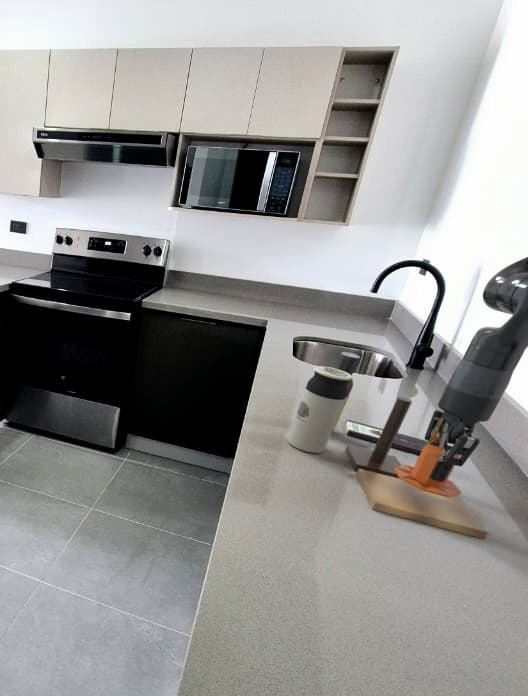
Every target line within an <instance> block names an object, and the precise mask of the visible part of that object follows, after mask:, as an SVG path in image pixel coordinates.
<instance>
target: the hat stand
mask: <svg viewBox="0 0 528 696" xmlns="http://www.w3.org/2000/svg"><path fill="white" fill-rule="evenodd" d="M412 403H413V400H411V399H410V398H408V397H407V398H406V397H404V396H397V398H396V400H395V403H394V404H393V406H392V408H391V411H390V413H389V415H388V418H387V420H386V422H385V424H384V426H383V428H382V429H383V431H382V433H381V435H380V437H379V439H378V442H377V443H375V447H374V449H373V450H369V449H365V448H361V447H357V446H352V445H349V444H347V445H346V447H345V449H344V451H345V454H346V457H347V458H348V460H349V462H351V463H350V465H351V467H352V468H353V471H356V470H357V471H358V469H363V470H367V471H371V472H375V473H379V474H382V475H386V476H390V477H394V478H398V479H400V478H399V477H398V475H397V473H396V472H395V470H394V467H399V466H402V464H401V463H400V461H399V460H398V458H397V456H394V455H390V454H389V452H390V450H391V448H392V447H391V446H392V443H393V441H394V439H395V437H396V435H397V433H399V431H400V430H401V429H400V428H401V426H402V424H403V422H404V421H405V418H406V416H407V414H408V412H409V410H410V408H411V405H412ZM357 471H356V472H357Z"/></svg>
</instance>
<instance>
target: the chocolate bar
mask: <svg viewBox="0 0 528 696" xmlns="http://www.w3.org/2000/svg"><path fill="white" fill-rule="evenodd" d="M345 428H346V433H347V434H346V435H347V436H350V437H353V438H358V439H361V440H365V441H369V442H372V443H375V444H377V442H378V439H379V437H380V435H381V433H382V431H383V429H384V428H380V427H376V426H374V425H369V424H366V423H361V422H358V421H354V420H351V419H346V421H345ZM427 441H428V440H425V439H421V438H418V437H414V436H410V435H407V434H403V433H399V432H398V433H397V435H396V437H395V439H394V441H393V443H392V446H391V448H393V449H397V450H401V451H405V452H408V453H411V454H416V455H418V456H420V454H421V452H422V450H423V448H424V447H425V445H426V443H427Z"/></svg>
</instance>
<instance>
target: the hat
mask: <svg viewBox="0 0 528 696" xmlns="http://www.w3.org/2000/svg"><path fill="white" fill-rule="evenodd" d="M449 451H450V450H448V452H449ZM448 452H447V454H448ZM440 453H441V448H440V447H439V446H437V445H431V444H427V445H425V447H424V448H423V450H422V452H421V454H420V455H418V457H417V460H416V462H415V463H414V465H408V464H404V465H401V466H399V467H394V470H395V472H396V473H397V475H398V477H399V478H400V479H401V480H403V481H405V482H407V483H409V484H411V485H413V486H414V487H416V488H418V489H420V490H422V491H425V492H429V493H433V494H437V495H441V496H445V497H452V496H456V495H459V496H460V495H462V491H461V490H460V488H459V487H458V486H457V485H456V484H455V483H454V481H452V480H450V479H449V477H450V476H451V474H452V472H453V470H454V468H455V466H456V465H453V466H452V468H451V470H450V472H449V473H448V475H447V477H446V479H445V481H443V482H439V481H435V480H432V479H431V478H430V474H431V472H432V470H433V468H434V466H435V464H436V462H437V460H439V456H440Z"/></svg>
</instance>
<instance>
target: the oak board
mask: <svg viewBox="0 0 528 696" xmlns="http://www.w3.org/2000/svg"><path fill="white" fill-rule="evenodd" d="M355 475H356V478H357V479H359V480H358V482H359V484H360V486H361V488H362V490H363V492H364V494H366V495H365V496H366V500H367V501H368V504H369V506H370V507H371V509H372V510H374V511H378V512H382V513H384V514H389V515H393V516H396V517H401V518H404V519H408V520H411V521H416V522H419V523H423V524H427V525H430V526H434V527H436V528H437V527H438V528H441V529H445V530H449V531H453V532H456V533H459V534H464V535H468V536H471V537H473V538H474V537H475V538H479V539H483V540H486V538H487V536H488V534H489V531H488V530H487V528H486V527H485V525H483V524H482V522H481V521H480V520H479V518H477V516H476V515H475V514H474V512H473V511H472V510H471V508H470V507H469V506H468V504H466V502H465V501H464V500H463V498H462V497H461V496H460V495H456V496H452V497H445V496H441V495H437V494H433V493H429V492H425V491H422V490H420V489H418V488H416V487H414V486H413V485H411V484H409V483H407V482H405V481H403V480H401V479H398V478H394V477H390V476H386V475H382V474H379V473H375V472H371V471H367V470H363V469H358V471H356V474H355Z"/></svg>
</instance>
